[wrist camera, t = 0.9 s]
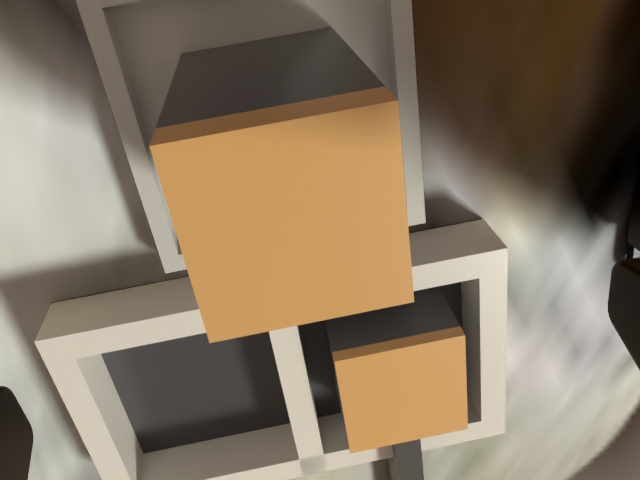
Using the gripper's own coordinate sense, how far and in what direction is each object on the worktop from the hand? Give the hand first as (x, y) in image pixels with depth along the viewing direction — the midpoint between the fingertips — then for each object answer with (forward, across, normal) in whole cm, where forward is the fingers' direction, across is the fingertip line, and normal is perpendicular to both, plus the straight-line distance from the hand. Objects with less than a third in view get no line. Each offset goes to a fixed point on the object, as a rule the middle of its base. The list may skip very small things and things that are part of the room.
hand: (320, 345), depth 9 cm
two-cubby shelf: (+12, +1, +10) cm, 15 cm away
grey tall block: (+11, 0, 0) cm, 11 cm away
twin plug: (+12, -3, +14) cm, 18 cm away
